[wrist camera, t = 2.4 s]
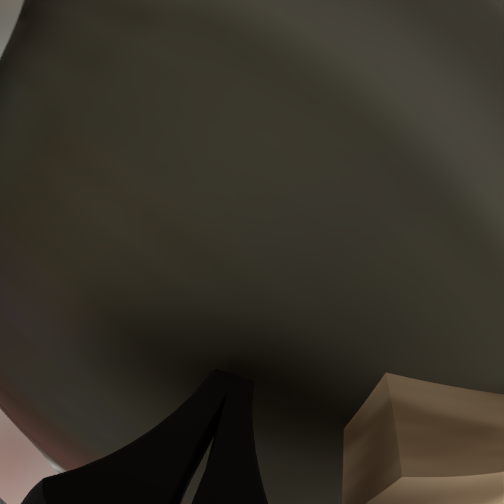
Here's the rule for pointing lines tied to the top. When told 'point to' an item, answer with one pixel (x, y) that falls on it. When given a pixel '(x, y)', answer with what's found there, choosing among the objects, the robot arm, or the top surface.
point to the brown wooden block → (425, 445)
